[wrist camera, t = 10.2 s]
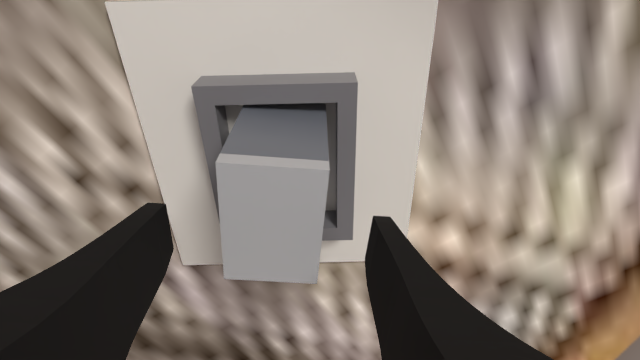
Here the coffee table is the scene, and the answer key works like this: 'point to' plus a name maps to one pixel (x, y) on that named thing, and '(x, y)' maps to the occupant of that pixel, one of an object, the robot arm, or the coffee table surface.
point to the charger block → (274, 192)
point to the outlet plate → (280, 100)
